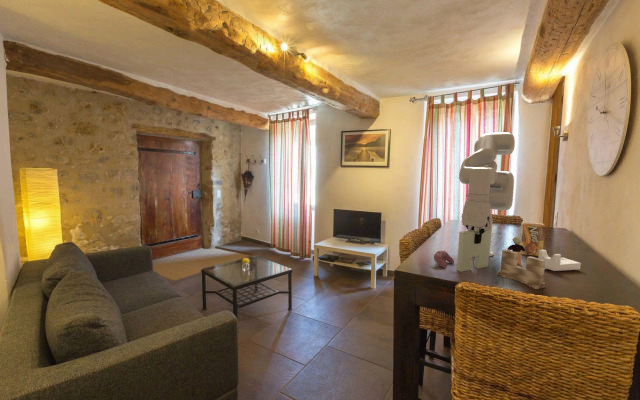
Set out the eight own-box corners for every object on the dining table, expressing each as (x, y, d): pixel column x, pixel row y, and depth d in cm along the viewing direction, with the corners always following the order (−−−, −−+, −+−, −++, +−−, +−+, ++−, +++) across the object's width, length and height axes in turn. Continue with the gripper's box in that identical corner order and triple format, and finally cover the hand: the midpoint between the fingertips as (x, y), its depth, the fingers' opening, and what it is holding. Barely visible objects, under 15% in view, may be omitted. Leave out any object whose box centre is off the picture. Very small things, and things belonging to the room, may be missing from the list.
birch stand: (497, 275, 112) (499, 250, 111) (505, 273, 114) (508, 248, 113) (536, 289, 100) (539, 261, 99) (544, 287, 102) (547, 259, 101)
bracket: (553, 273, 116) (555, 255, 115) (537, 267, 123) (539, 250, 122) (579, 271, 119) (582, 253, 118) (562, 265, 126) (564, 248, 125)
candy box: (539, 254, 140) (542, 223, 139) (542, 256, 137) (545, 225, 135) (518, 252, 144) (521, 221, 142) (520, 254, 140) (523, 223, 138)
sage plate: (456, 270, 117) (459, 231, 115) (483, 265, 124) (486, 228, 122) (460, 271, 116) (463, 232, 114) (487, 266, 122) (491, 229, 120)
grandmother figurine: (521, 263, 126) (523, 235, 125) (526, 266, 122) (529, 237, 121) (502, 263, 127) (505, 235, 125) (507, 266, 123) (510, 237, 121)
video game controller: (445, 264, 128) (439, 249, 130) (455, 262, 125) (449, 247, 127) (436, 270, 121) (430, 254, 123) (446, 268, 118) (439, 251, 120)
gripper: (455, 196, 122) (452, 238, 124) (490, 201, 107) (486, 248, 110) (467, 196, 125) (464, 237, 127) (503, 200, 110) (499, 246, 113)
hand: (474, 242), depth 118 cm, fingers closed on sage plate, 2 cm apart
